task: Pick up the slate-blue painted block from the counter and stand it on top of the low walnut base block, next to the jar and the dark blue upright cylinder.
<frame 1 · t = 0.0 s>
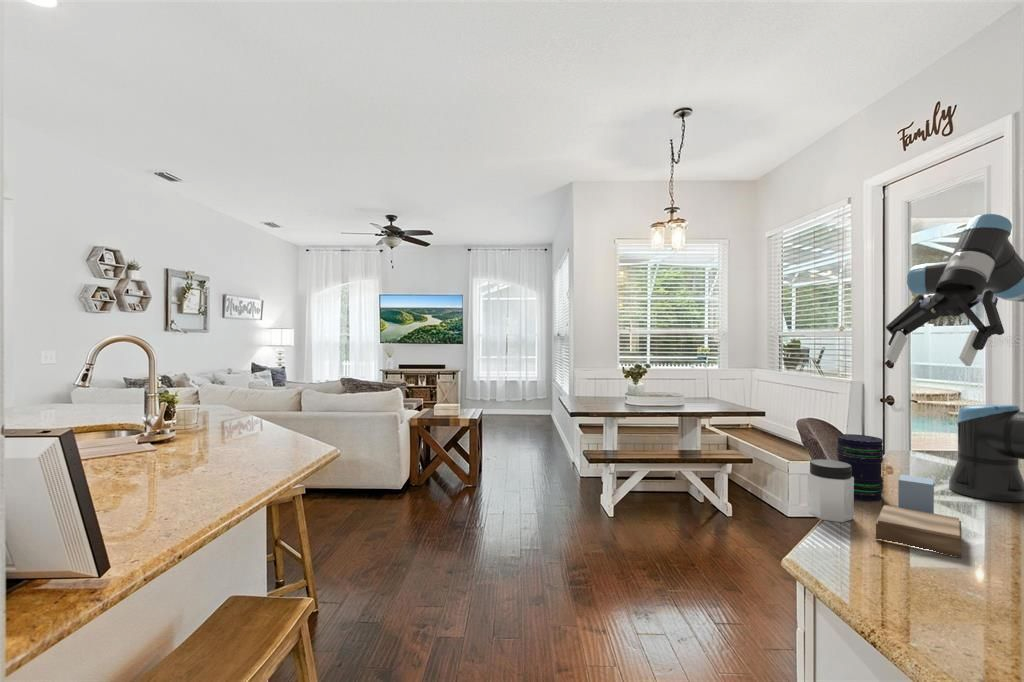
hand: (925, 360, 105), 36 cm above the table, tool tilted 35°, fingers open, 13 cm apart
jar: (830, 516, 118), on the table
base block: (918, 538, 104), on the table
dark blue upright cylinder: (859, 496, 132), on the table
slate block: (916, 519, 116), on the table
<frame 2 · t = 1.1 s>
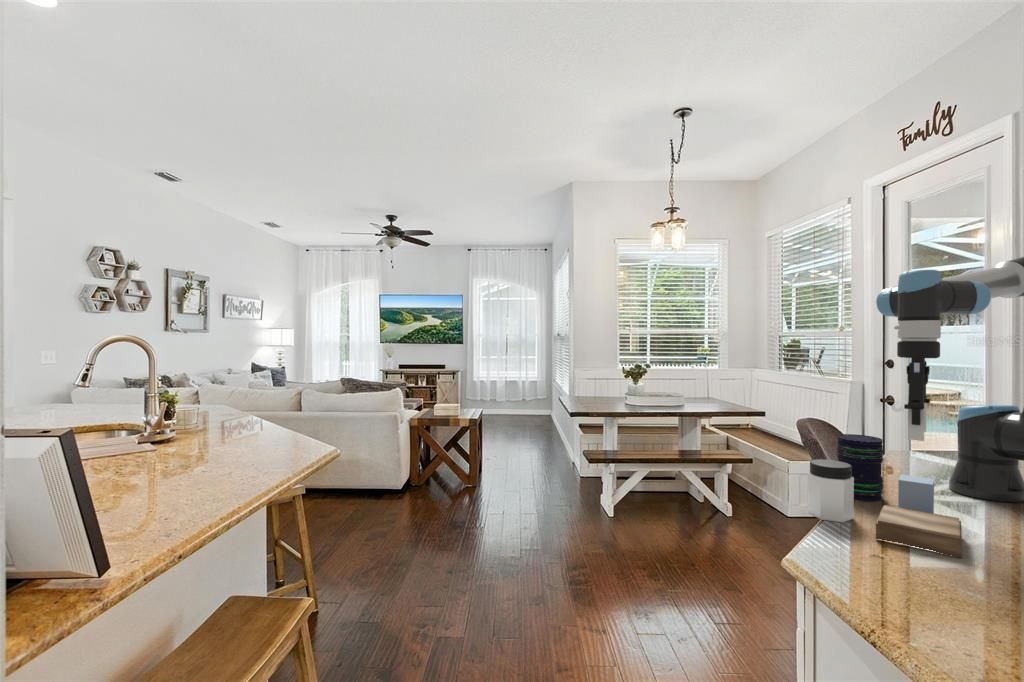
hand: (917, 435, 115), 19 cm above the table, tool pointing down, fingers open, 13 cm apart
nothing on the table moved.
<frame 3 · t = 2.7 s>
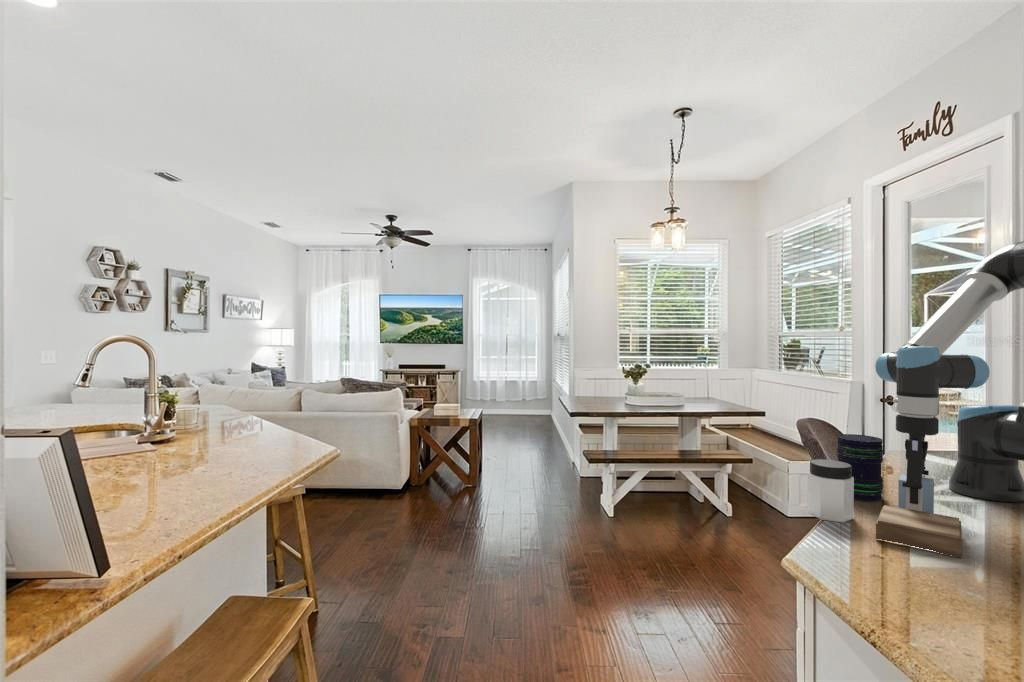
hand: (915, 510, 115), 2 cm above the table, tool pointing down, fingers open, 13 cm apart
nothing on the table moved.
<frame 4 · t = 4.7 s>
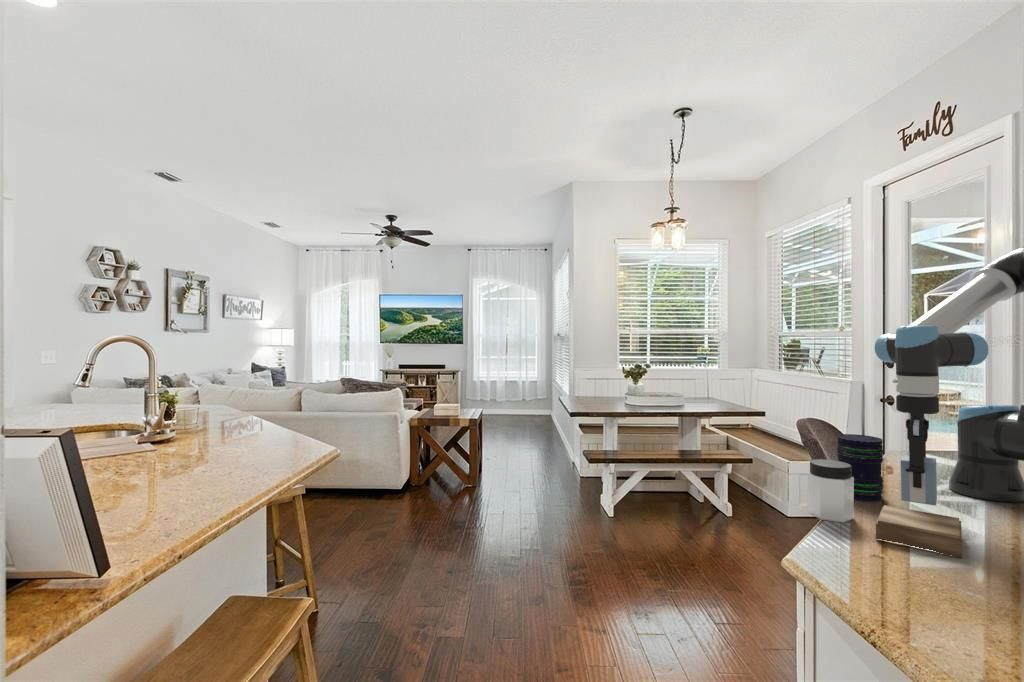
hand: (918, 497, 116), 5 cm above the table, tool pointing down, fingers closed on slate block, 6 cm apart
slate block: (919, 499, 116), point 4 cm above the table, touching gripper
everything else where it was.
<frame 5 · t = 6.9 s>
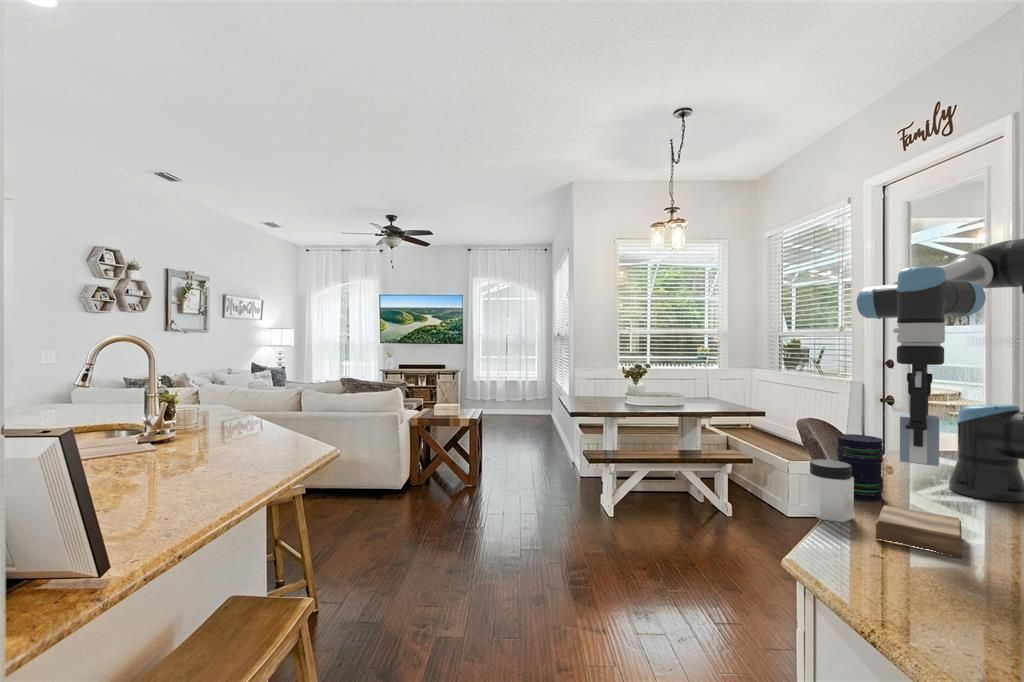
hand: (919, 459, 104), 16 cm above the table, tool pointing down, fingers closed on slate block, 6 cm apart
slate block: (919, 461, 104), point 16 cm above the table, touching gripper
everything else where it was.
when the fingers open (5 cm above the table, at t = 9.4 s): slate block drops 1 cm, resting on base block.
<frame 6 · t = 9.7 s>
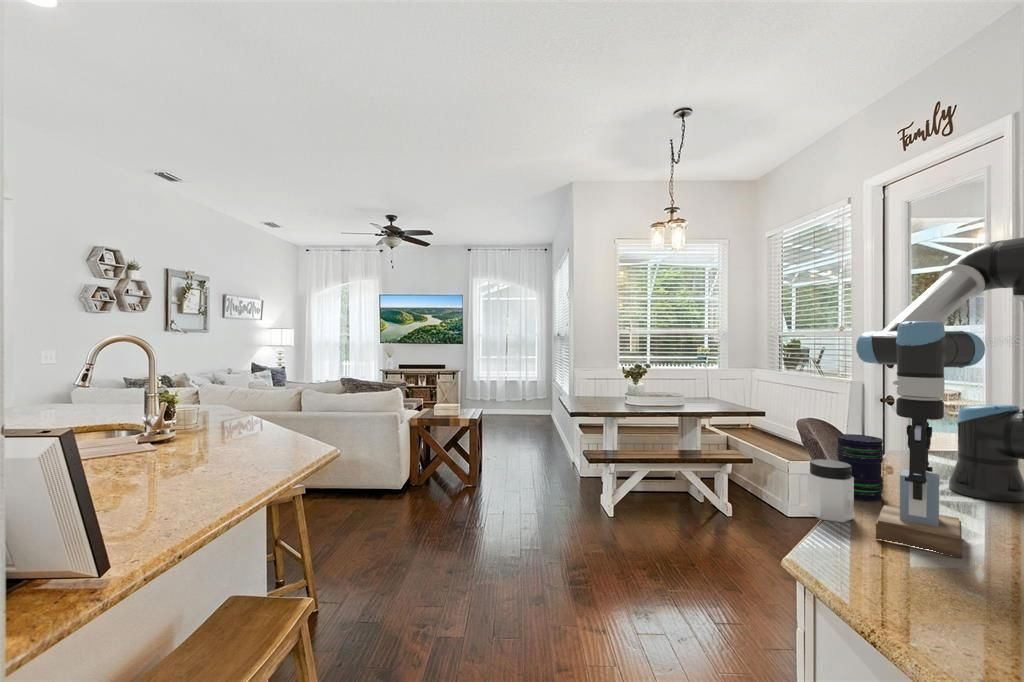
hand: (918, 508, 104), 6 cm above the table, tool pointing down, fingers open, 9 cm apart
slate block: (919, 519, 104), point 4 cm above the table, touching base block
everything else where it was.
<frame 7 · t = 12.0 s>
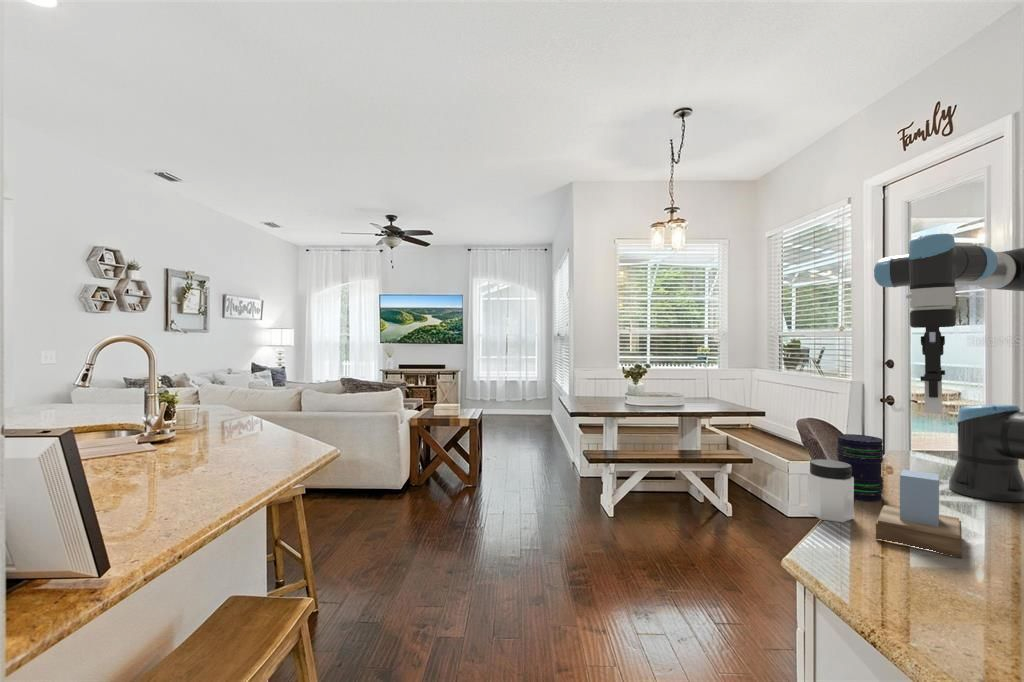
hand: (933, 409, 110), 25 cm above the table, tool pointing down, fingers open, 13 cm apart
nothing on the table moved.
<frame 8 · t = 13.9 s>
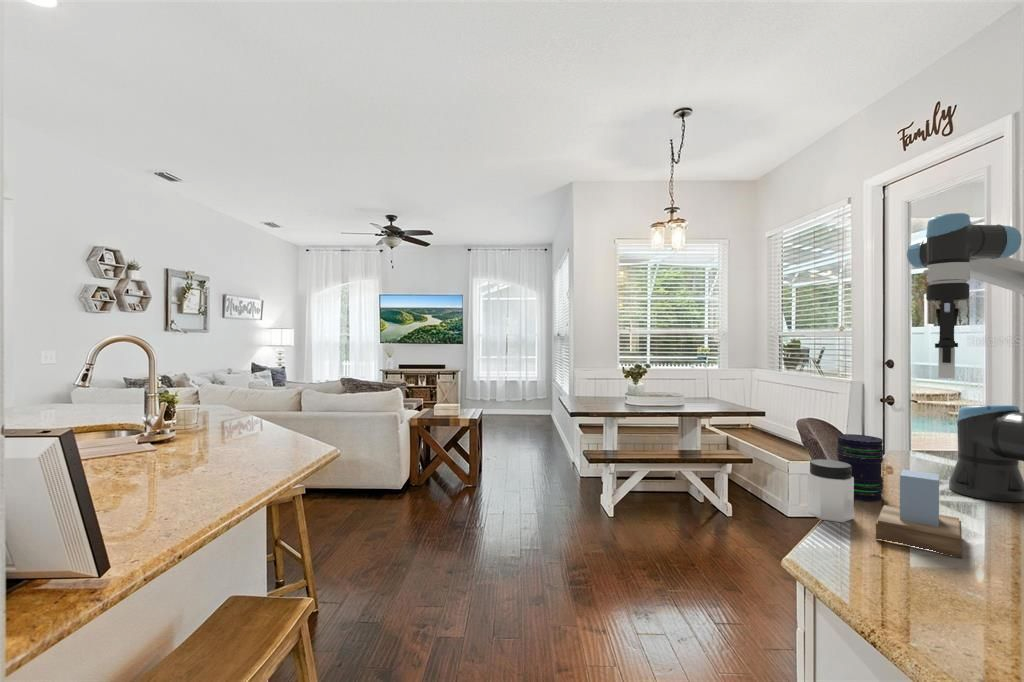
hand: (946, 376, 118), 32 cm above the table, tool pointing down, fingers open, 13 cm apart
nothing on the table moved.
at the end: slate block inside the target area on the base block (0.1 cm from its centre), point 4.0 cm above the base block's base; slate block tilted 0°; the gripper is holding nothing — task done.
